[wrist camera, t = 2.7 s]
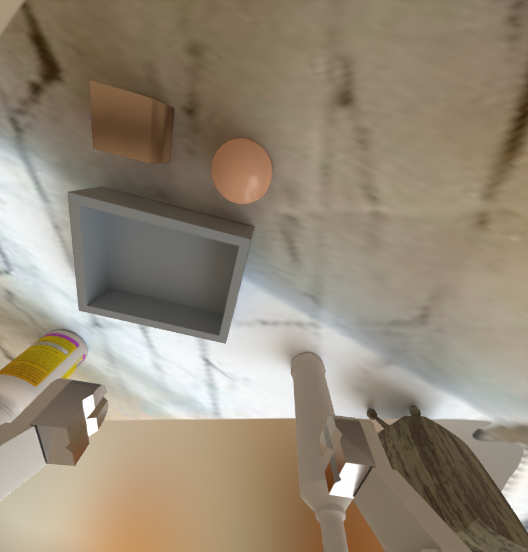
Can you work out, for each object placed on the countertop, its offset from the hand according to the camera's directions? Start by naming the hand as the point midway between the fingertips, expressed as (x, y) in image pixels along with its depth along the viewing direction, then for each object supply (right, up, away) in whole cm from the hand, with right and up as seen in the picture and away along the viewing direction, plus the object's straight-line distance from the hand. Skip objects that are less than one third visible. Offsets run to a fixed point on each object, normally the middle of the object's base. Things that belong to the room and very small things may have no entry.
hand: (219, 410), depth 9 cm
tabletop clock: (+26, -19, +34) cm, 47 cm away
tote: (-10, +7, +22) cm, 26 cm away
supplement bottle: (-29, -6, +30) cm, 42 cm away
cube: (-10, +20, +16) cm, 28 cm away
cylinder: (0, +17, +17) cm, 24 cm away
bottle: (+8, -9, +29) cm, 32 cm away
